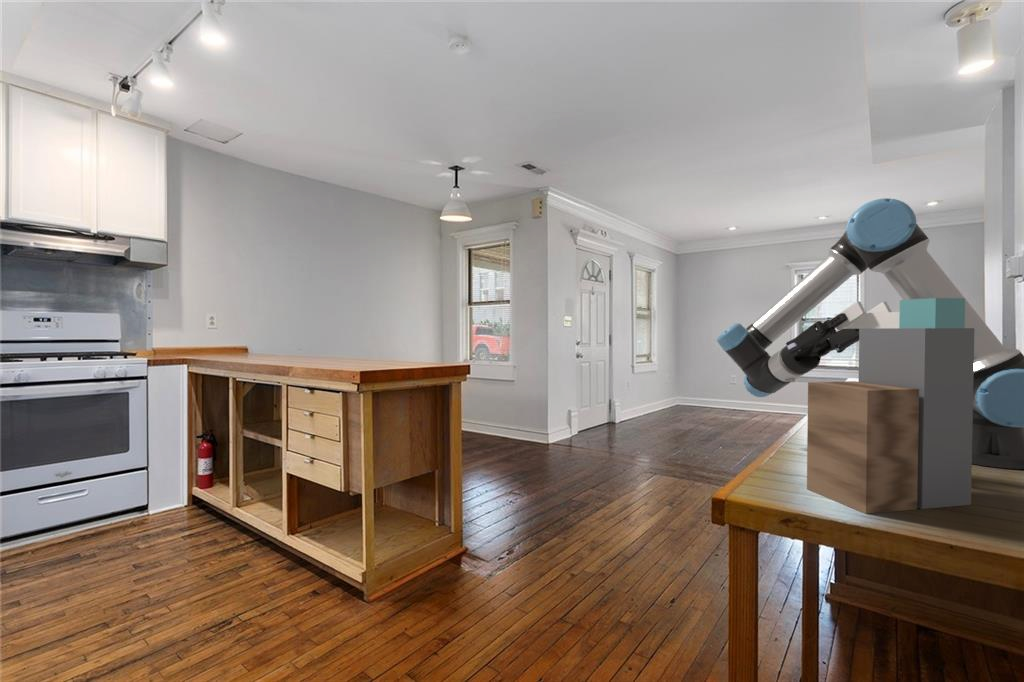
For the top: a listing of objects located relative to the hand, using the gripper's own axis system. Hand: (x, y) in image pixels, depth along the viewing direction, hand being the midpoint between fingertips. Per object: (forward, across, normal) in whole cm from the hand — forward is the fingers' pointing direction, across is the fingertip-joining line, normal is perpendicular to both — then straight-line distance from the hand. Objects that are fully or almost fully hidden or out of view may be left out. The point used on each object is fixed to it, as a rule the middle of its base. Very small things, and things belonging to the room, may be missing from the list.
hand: (874, 307), depth 91 cm
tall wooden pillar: (-11, +11, -33) cm, 37 cm away
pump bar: (0, 0, -5) cm, 5 cm away
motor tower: (-11, 0, -33) cm, 35 cm away
